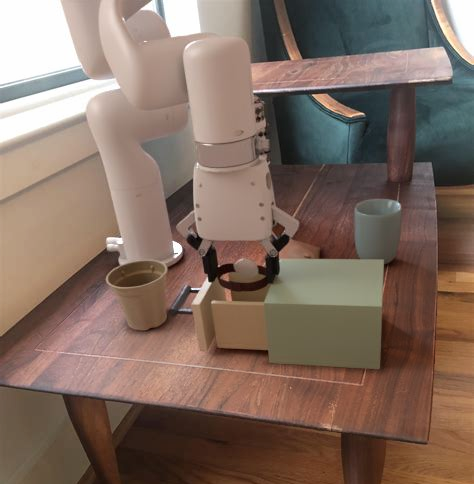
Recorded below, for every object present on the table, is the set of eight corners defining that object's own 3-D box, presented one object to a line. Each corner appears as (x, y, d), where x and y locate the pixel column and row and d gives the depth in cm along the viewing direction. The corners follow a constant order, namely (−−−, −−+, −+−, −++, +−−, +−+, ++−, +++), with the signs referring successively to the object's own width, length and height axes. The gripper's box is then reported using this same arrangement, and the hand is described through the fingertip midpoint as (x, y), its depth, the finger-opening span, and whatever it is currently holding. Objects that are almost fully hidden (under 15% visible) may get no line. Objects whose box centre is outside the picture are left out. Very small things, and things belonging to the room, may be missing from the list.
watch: (275, 279, 77) (273, 256, 75) (263, 296, 73) (261, 272, 71) (224, 275, 79) (221, 252, 78) (211, 290, 76) (208, 267, 74)
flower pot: (125, 307, 92) (113, 261, 87) (180, 303, 91) (171, 256, 87) (112, 339, 84) (99, 290, 79) (172, 334, 83) (162, 285, 79)
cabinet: (269, 363, 74) (263, 302, 69) (284, 314, 85) (280, 258, 80) (379, 369, 71) (382, 306, 66) (381, 317, 81) (384, 259, 76)
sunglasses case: (327, 294, 87) (304, 263, 85) (290, 315, 90) (267, 285, 87) (321, 246, 103) (301, 219, 100) (290, 265, 105) (270, 239, 103)
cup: (400, 270, 92) (403, 215, 87) (353, 270, 94) (353, 216, 89) (398, 250, 99) (401, 197, 93) (354, 251, 100) (354, 199, 95)
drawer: (168, 349, 78) (158, 303, 74) (192, 308, 88) (184, 264, 83) (294, 356, 74) (291, 307, 70) (305, 312, 83) (303, 266, 79)
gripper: (303, 139, 67) (308, 266, 76) (171, 145, 72) (191, 265, 81) (293, 157, 61) (301, 293, 70) (150, 163, 66) (175, 290, 75)
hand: (242, 277), depth 76 cm, fingers closed on watch, 7 cm apart
